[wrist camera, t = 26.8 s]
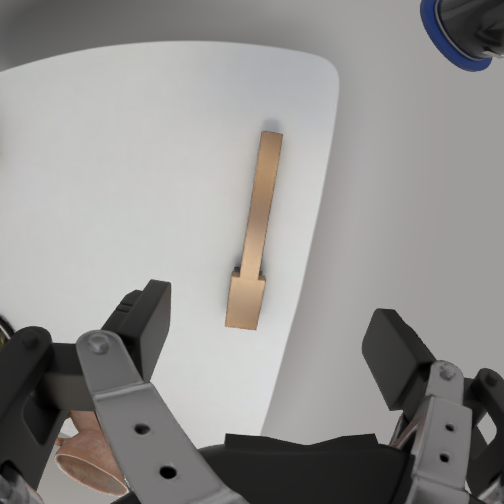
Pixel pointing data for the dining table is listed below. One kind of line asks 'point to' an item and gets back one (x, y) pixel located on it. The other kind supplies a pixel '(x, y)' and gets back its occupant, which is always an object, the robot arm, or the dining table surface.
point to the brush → (254, 240)
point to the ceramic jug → (89, 456)
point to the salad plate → (4, 334)
